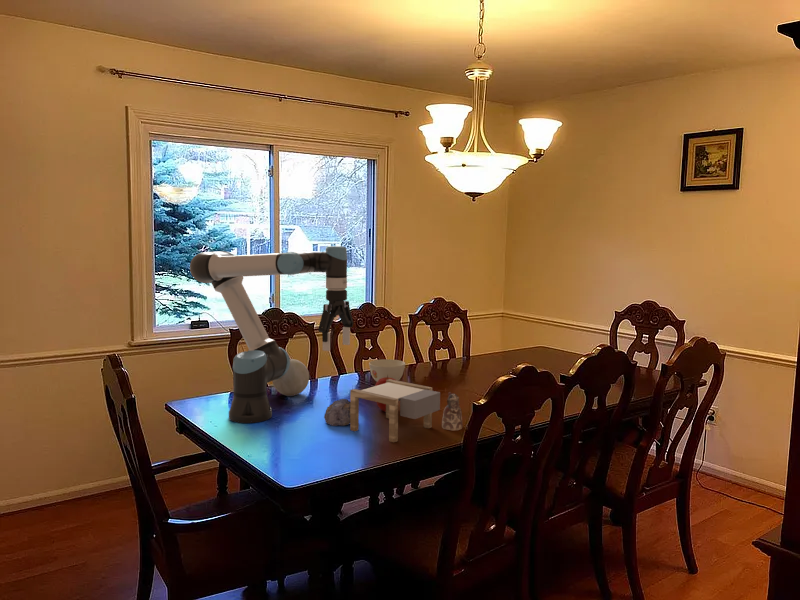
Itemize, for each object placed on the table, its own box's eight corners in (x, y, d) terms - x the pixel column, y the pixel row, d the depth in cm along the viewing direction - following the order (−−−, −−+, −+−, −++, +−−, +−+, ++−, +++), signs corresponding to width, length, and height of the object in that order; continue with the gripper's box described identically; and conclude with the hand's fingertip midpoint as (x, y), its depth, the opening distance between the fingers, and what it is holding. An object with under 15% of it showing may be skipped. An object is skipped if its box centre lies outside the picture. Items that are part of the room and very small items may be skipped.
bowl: (410, 388, 270) (410, 365, 269) (375, 391, 264) (376, 368, 263) (397, 379, 285) (397, 358, 284) (363, 382, 279) (364, 360, 278)
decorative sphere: (298, 401, 246) (298, 364, 244) (265, 397, 251) (264, 361, 249) (315, 392, 260) (315, 357, 259) (283, 389, 265) (283, 354, 263)
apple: (406, 410, 236) (406, 374, 234) (387, 416, 228) (387, 379, 227) (387, 405, 243) (387, 370, 241) (368, 410, 235) (368, 374, 234)
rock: (359, 411, 225) (351, 391, 220) (354, 432, 216) (346, 411, 211) (331, 415, 227) (322, 395, 222) (326, 436, 219) (316, 415, 214)
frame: (393, 442, 200) (394, 399, 198) (350, 430, 211) (350, 390, 210) (431, 427, 216) (432, 387, 215) (389, 416, 228) (389, 379, 226)
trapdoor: (412, 420, 197) (412, 401, 196) (358, 406, 211) (358, 389, 211) (441, 409, 210) (442, 391, 209) (388, 397, 224) (389, 380, 224)
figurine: (445, 431, 212) (446, 396, 211) (438, 424, 219) (439, 391, 217) (465, 429, 214) (466, 395, 213) (457, 423, 221) (458, 390, 219)
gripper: (326, 292, 210) (326, 354, 213) (362, 287, 233) (362, 343, 235) (307, 291, 214) (308, 352, 216) (345, 286, 236) (345, 341, 238)
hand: (336, 347), depth 226 cm, fingers open, 13 cm apart
